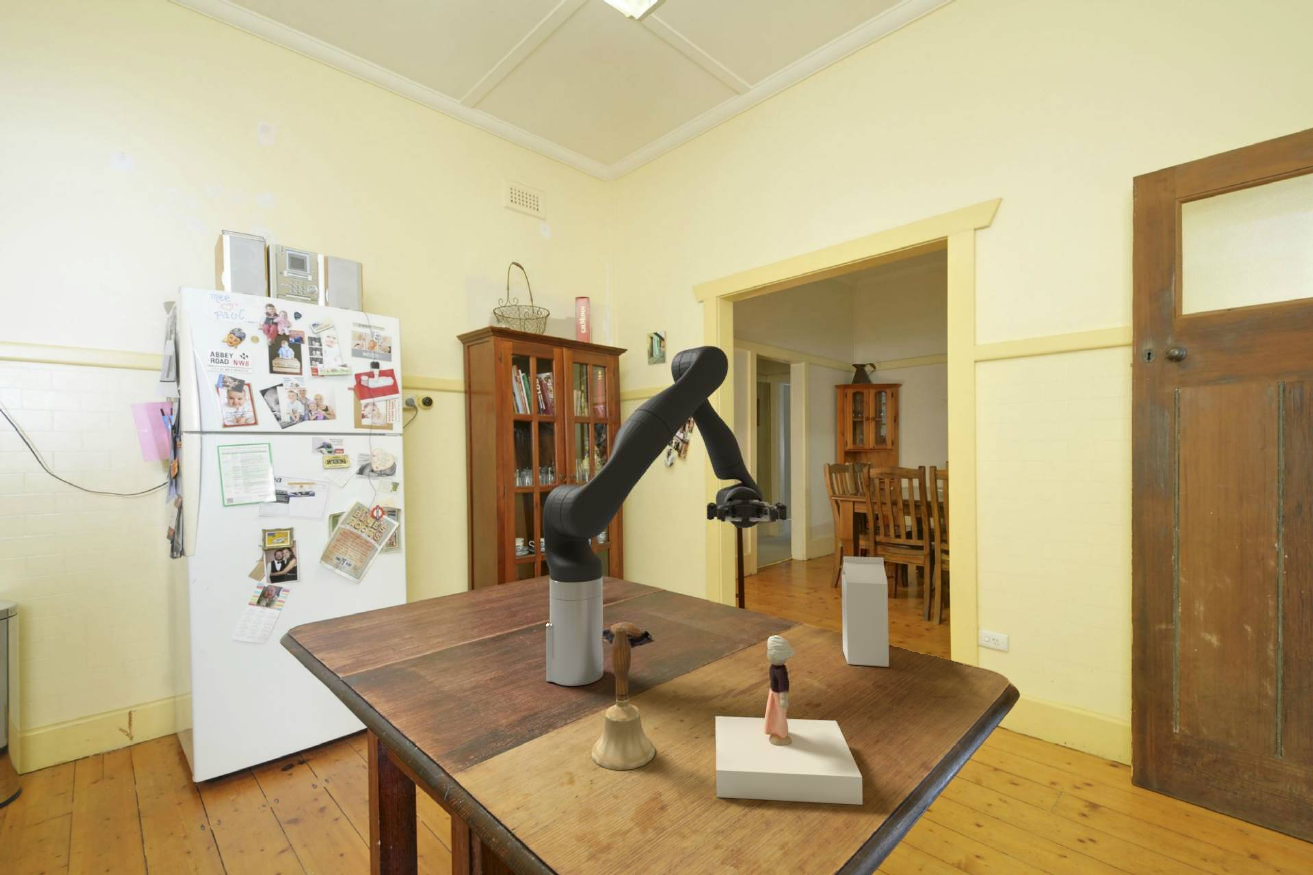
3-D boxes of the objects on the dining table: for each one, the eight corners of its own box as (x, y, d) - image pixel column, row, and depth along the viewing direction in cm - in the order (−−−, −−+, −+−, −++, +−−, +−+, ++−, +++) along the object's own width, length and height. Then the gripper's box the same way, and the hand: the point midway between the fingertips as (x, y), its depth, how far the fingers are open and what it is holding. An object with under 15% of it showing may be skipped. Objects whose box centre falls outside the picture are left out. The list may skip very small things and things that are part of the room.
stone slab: (716, 797, 64) (716, 770, 64) (715, 738, 76) (715, 716, 77) (862, 804, 62) (862, 777, 62) (836, 743, 75) (836, 720, 75)
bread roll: (593, 640, 118) (593, 623, 119) (623, 631, 124) (623, 614, 125) (627, 653, 111) (627, 634, 111) (657, 642, 117) (657, 624, 117)
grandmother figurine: (755, 724, 74) (754, 627, 74) (783, 723, 74) (782, 626, 75) (773, 756, 66) (772, 647, 67) (805, 754, 67) (803, 646, 67)
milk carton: (889, 667, 101) (887, 561, 101) (847, 665, 102) (845, 560, 103) (881, 653, 108) (879, 554, 108) (842, 651, 109) (841, 553, 110)
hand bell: (609, 778, 67) (608, 644, 68) (580, 747, 74) (580, 626, 75) (667, 758, 72) (666, 631, 72) (635, 730, 79) (634, 616, 79)
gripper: (707, 487, 113) (706, 493, 97) (779, 487, 112) (790, 493, 95) (707, 525, 113) (706, 537, 97) (779, 525, 111) (791, 538, 95)
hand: (748, 515), depth 96 cm, fingers open, 8 cm apart
